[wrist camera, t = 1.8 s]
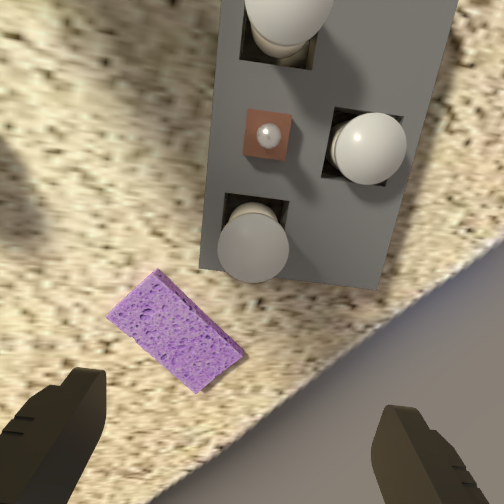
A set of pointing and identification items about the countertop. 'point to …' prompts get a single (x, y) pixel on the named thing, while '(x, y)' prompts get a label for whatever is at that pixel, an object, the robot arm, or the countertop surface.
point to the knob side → (367, 148)
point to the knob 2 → (285, 23)
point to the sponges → (175, 331)
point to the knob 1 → (253, 244)
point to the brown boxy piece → (266, 134)
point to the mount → (324, 131)
